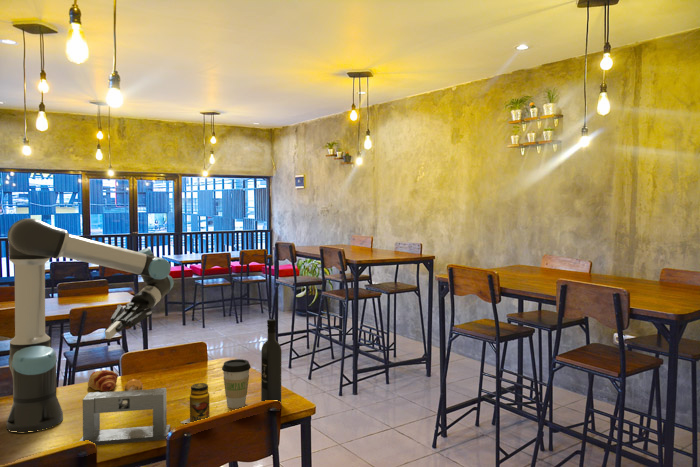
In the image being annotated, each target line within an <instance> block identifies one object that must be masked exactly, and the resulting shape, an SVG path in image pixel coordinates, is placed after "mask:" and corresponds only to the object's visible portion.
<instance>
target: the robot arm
mask: <svg viewBox="0 0 700 467" xmlns="http://www.w3.org/2000/svg"><path fill="white" fill-rule="evenodd" d="M7 241H8V260H9V261H10V262H11V263H12V264H13V265H14V328H15V330H14V337H13V338H12V339H11V340H10V341H9V357H8V367H9V370H10V372H11V376H12V397H13V398H12V404H11V409H10V411H9V414H8V417H7V420H6V430H7V429H8V430H10V431H17V432H28V431H37V430H42V429H45V430H47V429H46V428H49V427H51V428H53V427H52V426H54V427H56V426H57V425H56V424H58V423H59V424H60V423H62V422H61V421H63V419H64V412H63V409H62V407H61V404H60V402H59V399H58V397H57V360H58V357H57V355H56V354H57V353H56V350H55V349H54V348H52V347H51V337H50V336H49V335H48V334H47V333H46V271H45V270H46V263H47V262H48V261H49V260H50V259H51V258H52V259H55V260H56V259H59V258H61V257H62V258H66V259H71V260H73V261H79V262H84V263H88V264H92V265H98V266H101V267H105V268H110V269H113V270H118V271H122V272H123V271H124V272H127V273H131V274H136V275H140V277H141V279H142V281H143V282H144V284H145V286H144V287H143V288H142V289H141V290H140V291H139V292H137V293H136V294H135V295H134V296H133V297H132V298H131V299H130V302H127V303H126V304H125V305H122V304H117V306H116V307H117V308H116V309H115V311H114V313H113V314H112V315H111V318H110V325H109V326H108V328H107V329H106V330H105V331H104V334H105V339H107V340H111V339H112V338H114V336H115V335H116V334H118V333H120V332H121V331H122V330H124V329H125V328H127V327H128V328H129V329H130V328H132V327H134V326H136V325H137V324H138V323H140V322H141V321H143V320H145V319H146V318H149V317H151V316H152V315H153V312H152V309H153V308H154V307H155V306H156V305H157V304H158V303H159V302H160V301H161V300H162V299H163V298H164V297H165V296H166V295H168V293H170V291H171V290H172V289H173V287H174V284H175V281H174V279H173V277H172V276H171V275H170V273H171V269H172V268H171V267H172V266H171V263H170V262H169V260H167V259H165V258H163V257H159V256H155V255H154V253H153V252H152V250H151V249H150V248H148V247H147V248H143V249H141V250H139V251H135V250H131V249H127V248H125V247H120V246H117V245H111V244H108V243H105V242H101V241H97V240H93V239H89V238H85V237H81V236H78V235H74V234H71V233H69V232H68V231H67V230H66V229H64V228H59V227H56V226H54V225H51V224H49V223H47V222H45V221H42V220H40V219H37V218H31V217H30V218H22V219H19V220H17V221H15V222H14V223H13V224H12V225H11V226H10V227H9V229H8V231H7ZM59 424H58V425H59ZM55 425H56V426H55ZM49 429H50V428H49ZM8 430H7V431H8ZM42 431H43V430H42ZM37 432H38V431H37Z"/></svg>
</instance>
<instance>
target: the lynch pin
mask: <svg viewBox="0 0 700 467" xmlns="http://www.w3.org/2000/svg"><path fill="white" fill-rule="evenodd" d="M143 387H144V385H143V383H142V382H141V380H139V379H137V378H135V379H130V380H128V381H127V383H126V384H125V386H124V391H131V390H144V389H143ZM129 403H130V399H122V401H121V403H120V404H121V406H122V407H126V406H128V404H129Z"/></svg>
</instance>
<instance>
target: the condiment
mask: <svg viewBox="0 0 700 467" xmlns="http://www.w3.org/2000/svg"><path fill="white" fill-rule="evenodd" d="M190 389H191V390H190V395H189V418H187V419H184V420H183V421H180V423H181V424H185V423H190V422H194V421H197V420H201V419H205V418H208V417H209V418H210V392H209V385H208V384H207V383H204V382H200V383H198V382H197V383H194V384H192V385H191V386H190ZM185 425H186V424H185Z"/></svg>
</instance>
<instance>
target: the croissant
mask: <svg viewBox="0 0 700 467" xmlns="http://www.w3.org/2000/svg"><path fill="white" fill-rule="evenodd" d="M118 378H119V376H118V374H117V373H116V372H115V371H113V370H107V369H103V370H96V371H93V372H92V373H91V374H90V375H89V378H88V380H87V381H88V382H87V387H89V388H91V389H92V390H95V391H99V392H111V391H112V390H114V389H115V387H116V385H117V380H118Z"/></svg>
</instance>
